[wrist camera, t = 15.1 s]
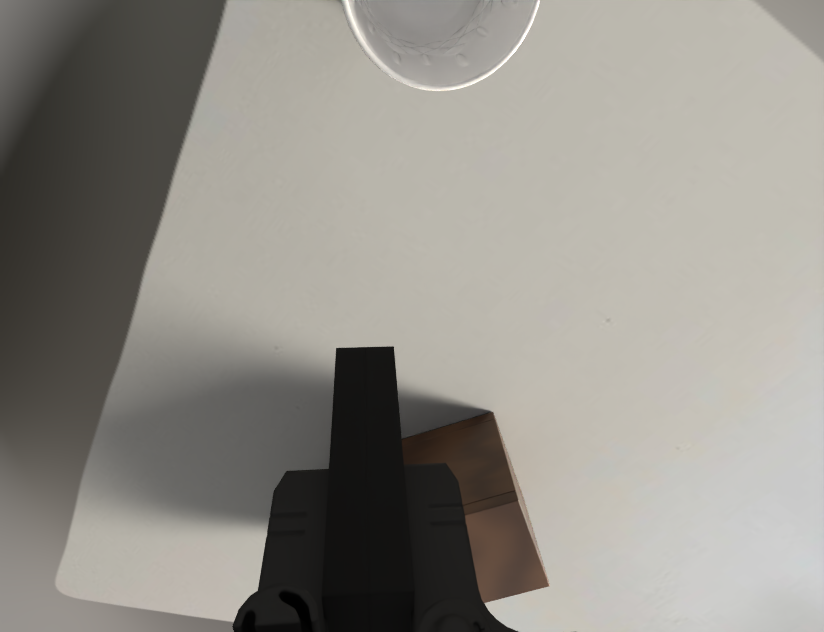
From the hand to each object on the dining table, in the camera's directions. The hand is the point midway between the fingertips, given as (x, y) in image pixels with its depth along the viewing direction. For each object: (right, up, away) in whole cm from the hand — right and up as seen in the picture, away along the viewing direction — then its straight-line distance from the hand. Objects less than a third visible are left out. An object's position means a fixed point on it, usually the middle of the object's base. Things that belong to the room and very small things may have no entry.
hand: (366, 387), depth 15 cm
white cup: (+2, +20, +14) cm, 25 cm away
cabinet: (+3, -14, +37) cm, 40 cm away
